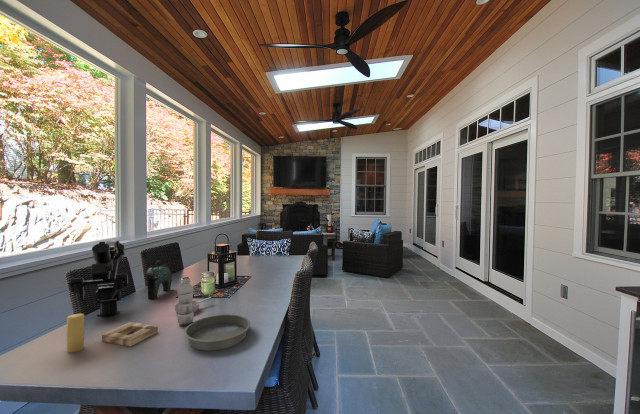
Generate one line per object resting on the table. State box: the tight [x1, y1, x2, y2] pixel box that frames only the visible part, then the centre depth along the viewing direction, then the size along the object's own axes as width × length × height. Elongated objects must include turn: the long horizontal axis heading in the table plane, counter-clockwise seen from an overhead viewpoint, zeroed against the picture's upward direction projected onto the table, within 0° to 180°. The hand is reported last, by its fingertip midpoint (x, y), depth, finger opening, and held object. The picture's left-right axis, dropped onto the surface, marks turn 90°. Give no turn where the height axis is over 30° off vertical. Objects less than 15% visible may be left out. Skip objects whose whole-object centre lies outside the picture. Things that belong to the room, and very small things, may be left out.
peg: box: [66, 313, 85, 354], centre depth 101 cm, size 5×5×12 cm
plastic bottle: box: [176, 276, 195, 326], centre depth 123 cm, size 6×7×20 cm
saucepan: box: [174, 296, 212, 314], centre depth 139 cm, size 11×18×4 cm, turn 143°
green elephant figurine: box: [145, 260, 173, 300], centre depth 161 cm, size 20×6×20 cm, turn 179°
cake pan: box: [183, 313, 251, 352], centre depth 111 cm, size 25×25×4 cm
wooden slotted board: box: [101, 321, 159, 347], centre depth 111 cm, size 14×12×3 cm
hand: (97, 299), depth 110 cm, fingers open, 9 cm apart
